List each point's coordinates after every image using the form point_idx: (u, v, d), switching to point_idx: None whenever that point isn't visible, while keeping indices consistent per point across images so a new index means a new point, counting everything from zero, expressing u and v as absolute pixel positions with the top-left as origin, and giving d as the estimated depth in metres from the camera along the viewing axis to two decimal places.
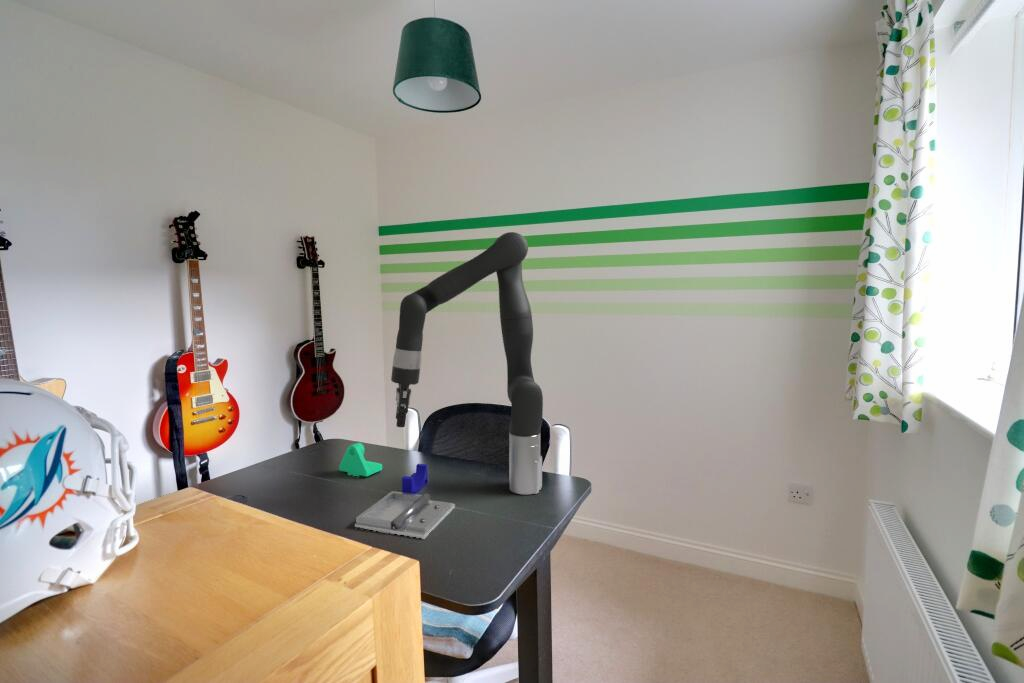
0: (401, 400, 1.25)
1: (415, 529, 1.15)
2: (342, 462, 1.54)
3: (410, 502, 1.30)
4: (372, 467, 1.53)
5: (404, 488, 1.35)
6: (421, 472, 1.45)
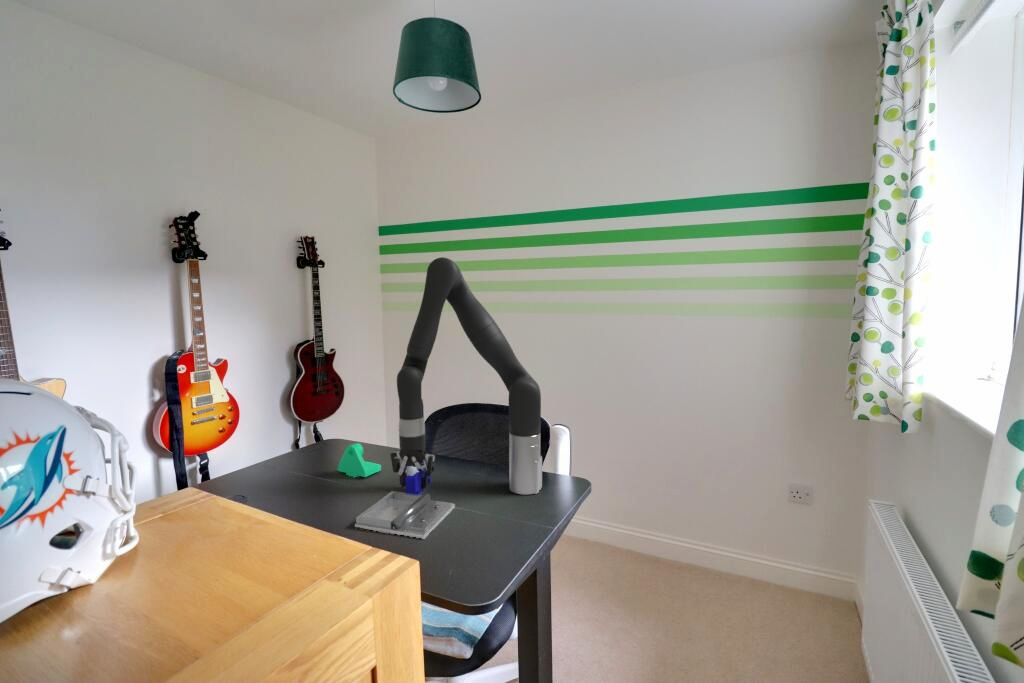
0: (432, 464, 1.38)
1: (415, 529, 1.15)
2: (341, 463, 1.54)
3: (410, 502, 1.30)
4: (371, 467, 1.53)
5: (407, 487, 1.36)
6: None
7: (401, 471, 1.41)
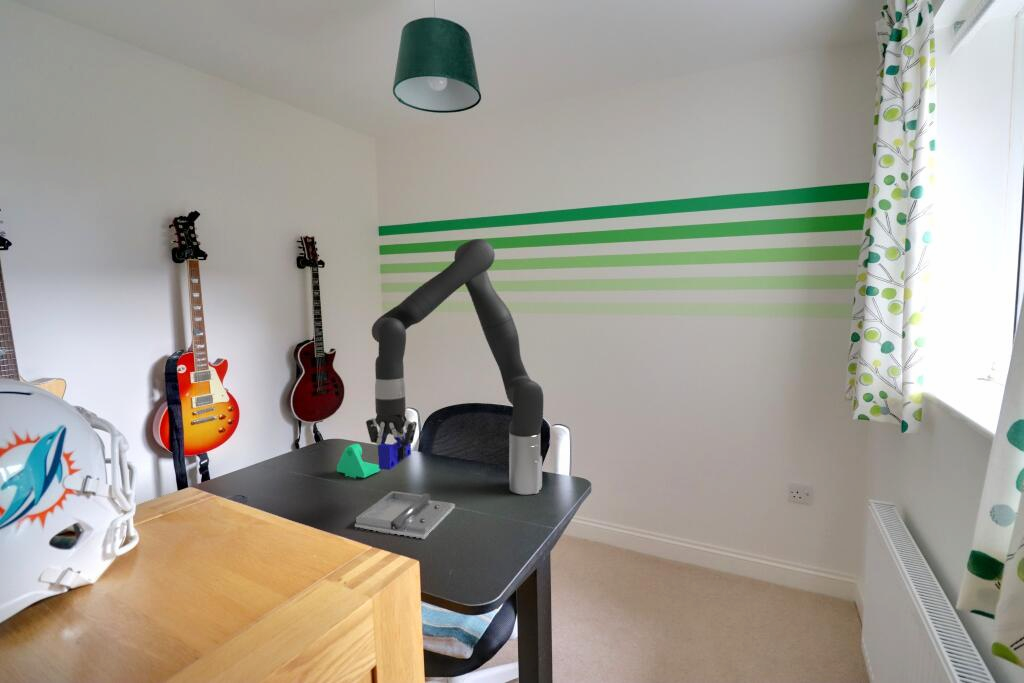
0: (411, 433, 1.20)
1: (415, 529, 1.15)
2: (339, 463, 1.53)
3: (410, 502, 1.30)
4: (370, 468, 1.52)
5: (381, 457, 1.18)
6: None
7: (380, 441, 1.23)
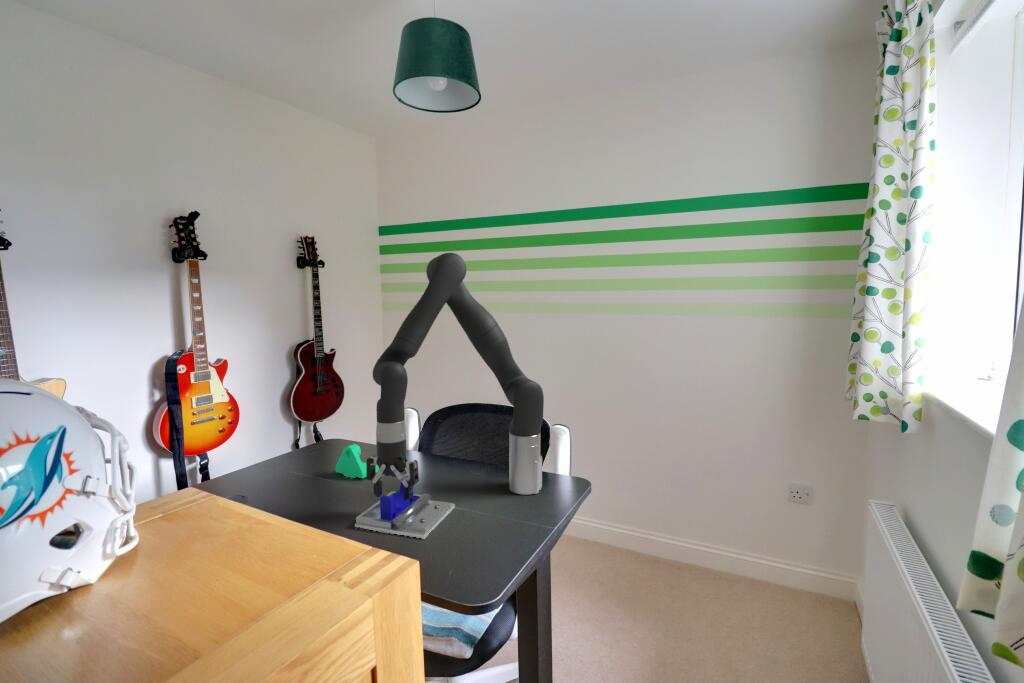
0: (414, 472, 1.21)
1: (415, 529, 1.15)
2: (338, 464, 1.53)
3: None
4: None
5: (382, 509, 1.19)
6: None
7: (375, 479, 1.24)
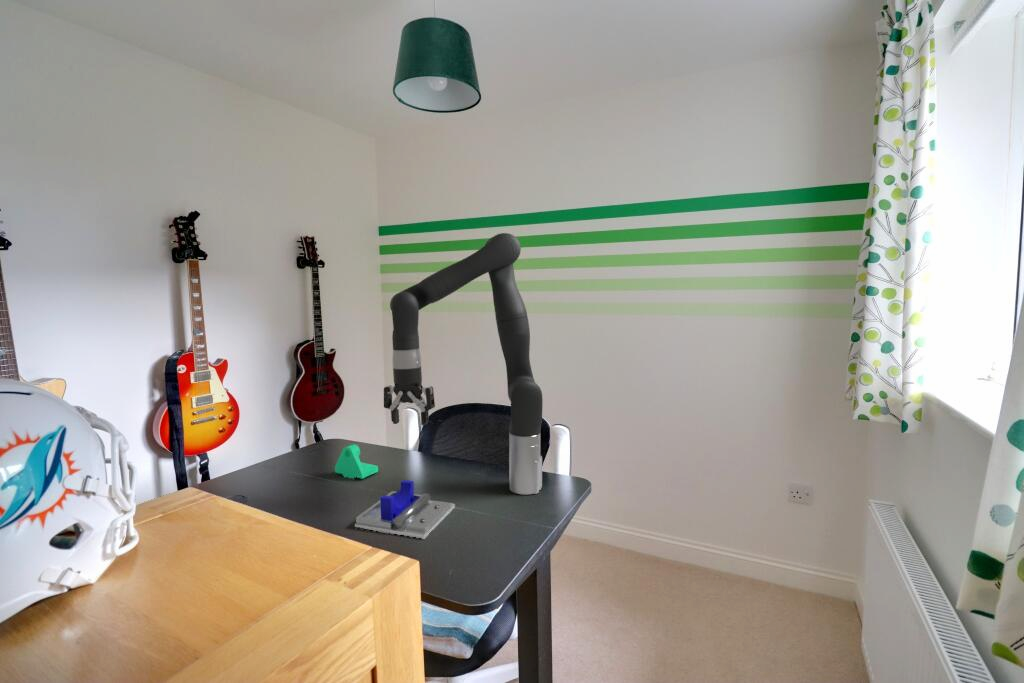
0: (430, 397, 1.27)
1: (415, 529, 1.15)
2: (337, 464, 1.52)
3: None
4: (368, 469, 1.52)
5: (383, 509, 1.19)
6: (406, 490, 1.28)
7: (393, 406, 1.30)
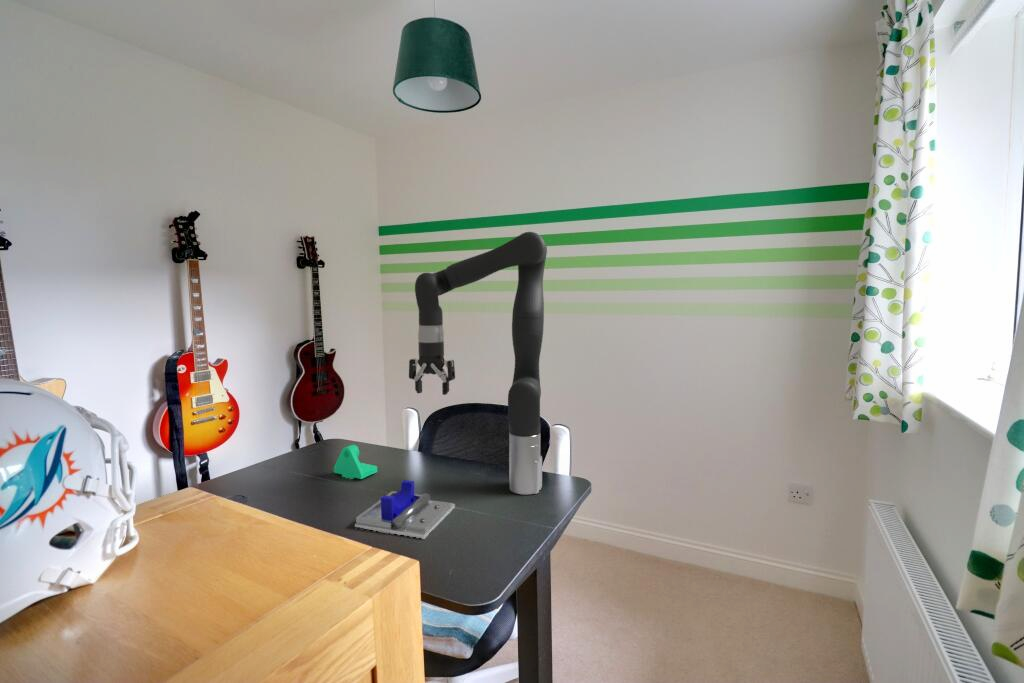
0: (451, 369, 1.40)
1: (415, 529, 1.15)
2: (336, 464, 1.52)
3: None
4: (367, 469, 1.51)
5: (383, 509, 1.19)
6: (406, 490, 1.28)
7: (417, 377, 1.43)
